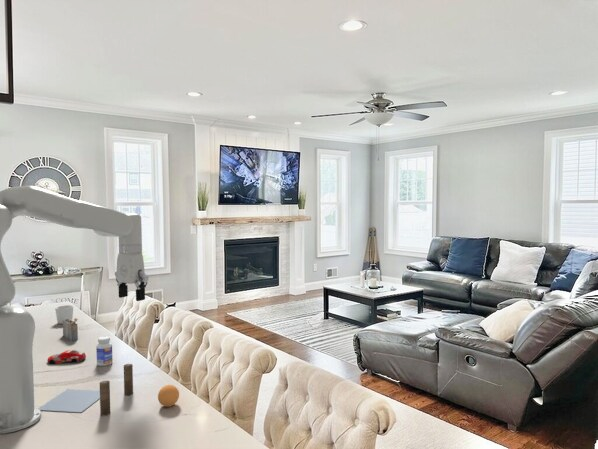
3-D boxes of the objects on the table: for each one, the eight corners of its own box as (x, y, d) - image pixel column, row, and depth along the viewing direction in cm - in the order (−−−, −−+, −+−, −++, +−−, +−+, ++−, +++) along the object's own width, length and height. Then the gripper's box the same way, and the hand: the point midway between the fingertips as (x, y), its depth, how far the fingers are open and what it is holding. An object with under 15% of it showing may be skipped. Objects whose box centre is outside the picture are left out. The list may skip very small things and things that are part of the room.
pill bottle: (106, 366, 159) (105, 340, 159) (93, 365, 160) (92, 339, 160) (115, 361, 164) (115, 336, 164) (103, 360, 165) (102, 335, 165)
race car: (44, 365, 162) (44, 355, 161) (51, 360, 167) (50, 350, 167) (82, 363, 163) (81, 353, 163) (87, 358, 168) (86, 348, 168)
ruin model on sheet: (79, 340, 191) (78, 318, 191) (71, 342, 189) (70, 320, 189) (70, 335, 199) (69, 314, 199) (63, 336, 197) (62, 315, 197)
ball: (174, 410, 125) (174, 390, 124) (154, 409, 125) (154, 389, 125) (182, 401, 131) (182, 381, 130) (163, 400, 131) (163, 381, 131)
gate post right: (130, 395, 135) (129, 366, 134) (122, 395, 135) (121, 366, 135) (134, 391, 138) (134, 363, 137) (126, 391, 138) (126, 363, 137)
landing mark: (81, 412, 124) (81, 412, 124) (36, 410, 125) (36, 409, 125) (108, 391, 138) (108, 391, 138) (67, 389, 139) (67, 389, 139)
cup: (59, 320, 224) (58, 304, 223) (76, 318, 226) (75, 303, 226) (54, 325, 214) (53, 309, 213) (72, 324, 216) (71, 308, 216)
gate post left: (107, 415, 122) (106, 384, 122) (98, 415, 122) (97, 384, 122) (112, 411, 125) (111, 380, 124) (103, 411, 125) (102, 380, 124)
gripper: (105, 249, 151) (107, 297, 152) (136, 252, 142) (137, 303, 142) (125, 247, 157) (126, 293, 158) (155, 249, 148) (156, 299, 149)
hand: (131, 298), depth 150 cm, fingers open, 9 cm apart
